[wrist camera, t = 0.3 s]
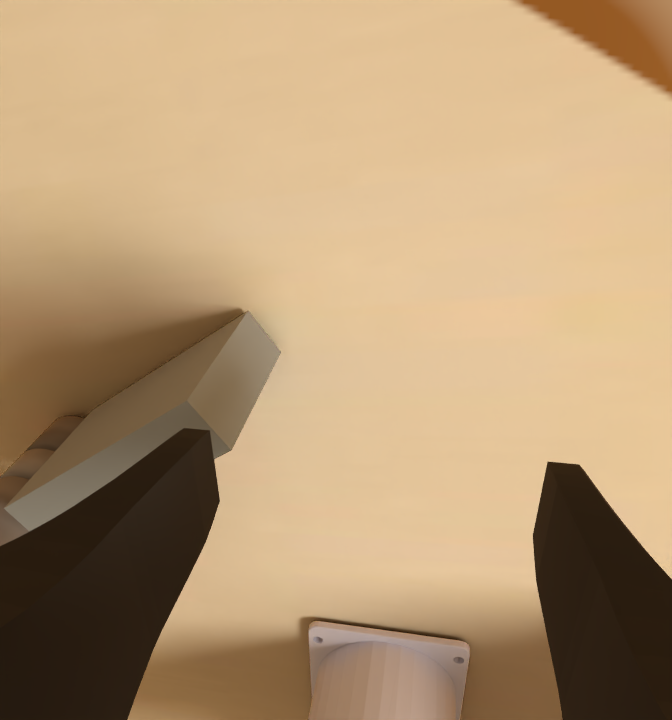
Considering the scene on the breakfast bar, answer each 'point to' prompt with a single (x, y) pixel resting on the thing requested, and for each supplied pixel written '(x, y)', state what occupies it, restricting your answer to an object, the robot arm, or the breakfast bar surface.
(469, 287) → the breakfast bar surface
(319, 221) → the breakfast bar surface
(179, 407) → the swing leaf
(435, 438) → the breakfast bar surface
